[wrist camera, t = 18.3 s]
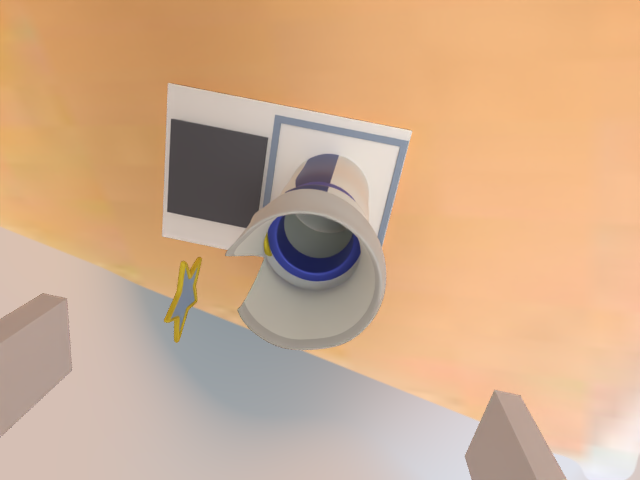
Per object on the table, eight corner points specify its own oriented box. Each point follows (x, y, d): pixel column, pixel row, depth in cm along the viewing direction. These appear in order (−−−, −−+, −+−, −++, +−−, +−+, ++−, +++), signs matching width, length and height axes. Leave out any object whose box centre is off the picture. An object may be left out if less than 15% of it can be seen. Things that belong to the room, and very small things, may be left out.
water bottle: (293, 243, 38) (193, 465, 14) (277, 158, 35) (122, 258, 11) (374, 234, 37) (413, 458, 13) (365, 145, 34) (392, 227, 10)
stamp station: (171, 83, 34) (164, 82, 33) (411, 130, 34) (413, 131, 33) (165, 233, 40) (159, 238, 38) (373, 276, 39) (373, 282, 38)
